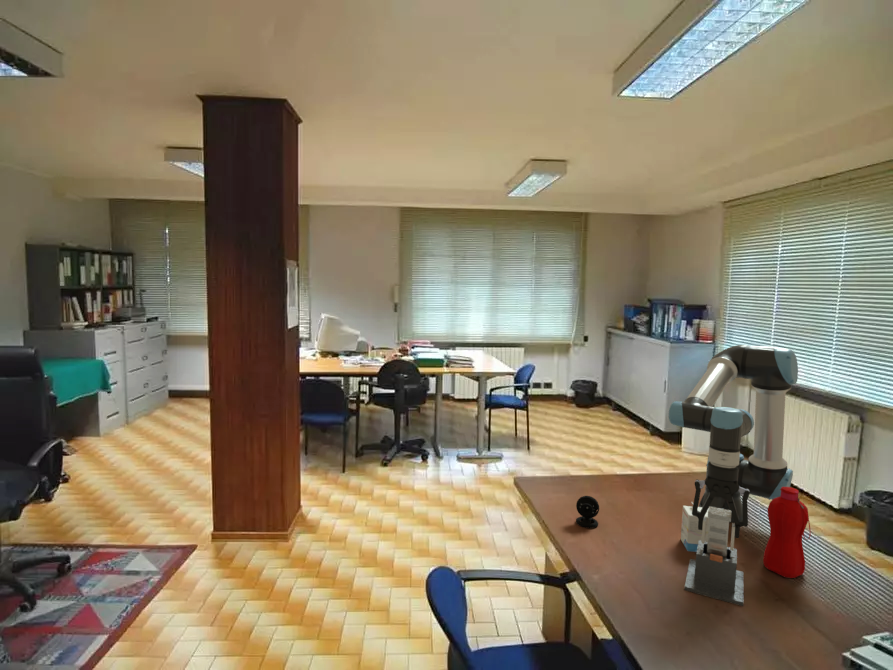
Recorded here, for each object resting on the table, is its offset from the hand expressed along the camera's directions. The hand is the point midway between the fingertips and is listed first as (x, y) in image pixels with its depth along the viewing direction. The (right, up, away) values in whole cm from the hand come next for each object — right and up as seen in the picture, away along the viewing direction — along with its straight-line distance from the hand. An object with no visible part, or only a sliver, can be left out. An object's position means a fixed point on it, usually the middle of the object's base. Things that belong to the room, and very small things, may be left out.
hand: (717, 544), depth 146 cm
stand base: (0, -11, +1) cm, 11 cm away
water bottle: (+24, -11, +8) cm, 28 cm away
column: (0, -10, +1) cm, 10 cm away
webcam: (-27, -8, +37) cm, 46 cm away
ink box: (+5, -10, +22) cm, 25 cm away
